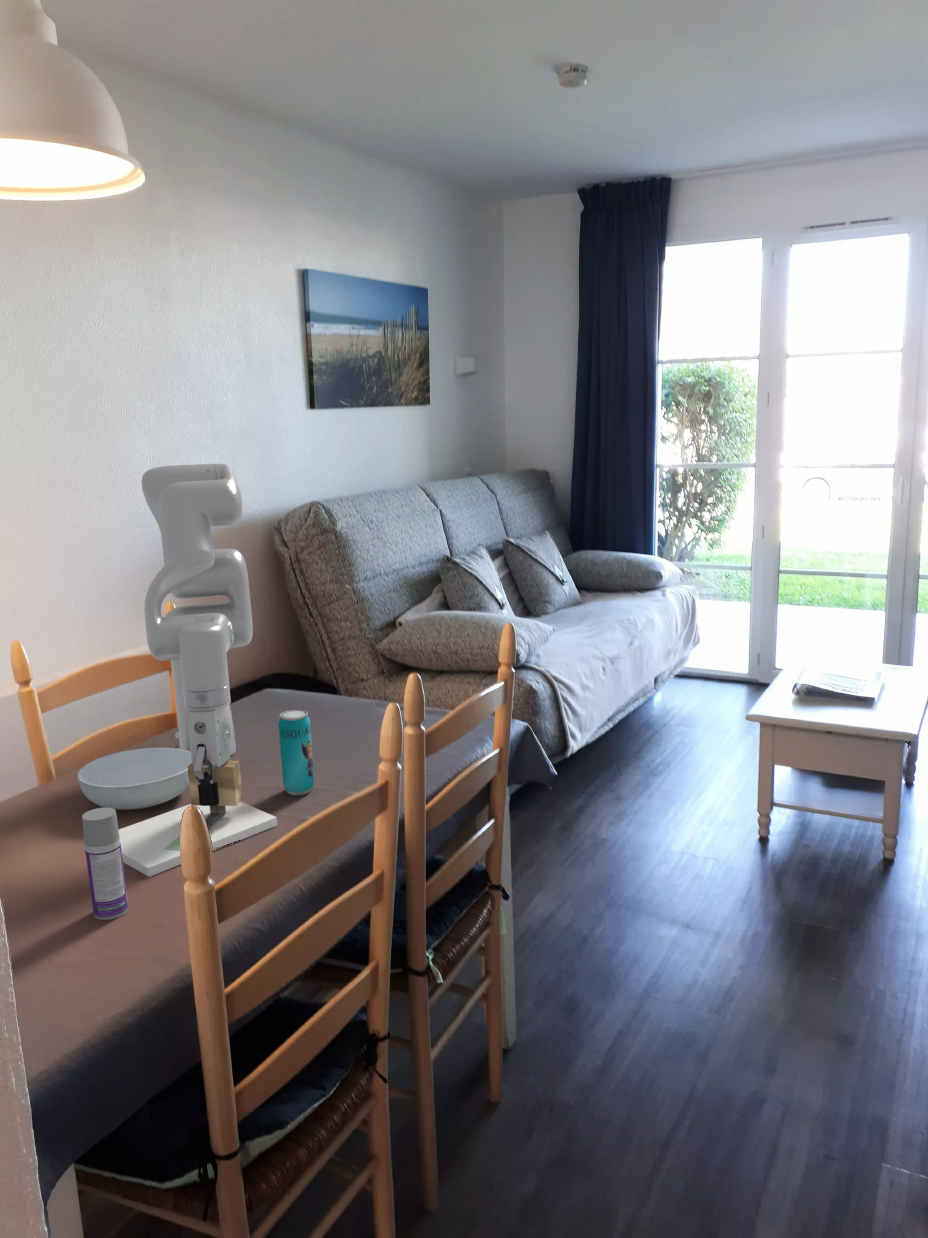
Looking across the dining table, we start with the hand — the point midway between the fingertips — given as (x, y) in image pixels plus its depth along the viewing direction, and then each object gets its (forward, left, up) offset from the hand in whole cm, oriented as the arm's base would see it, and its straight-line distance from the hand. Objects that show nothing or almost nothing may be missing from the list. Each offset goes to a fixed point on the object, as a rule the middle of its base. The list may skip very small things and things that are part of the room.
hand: (216, 795), depth 165 cm
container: (+14, -27, -5) cm, 31 cm away
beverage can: (-1, +18, -5) cm, 19 cm away
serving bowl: (-21, -3, -6) cm, 22 cm away
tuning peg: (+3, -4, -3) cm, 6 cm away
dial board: (0, -6, -5) cm, 8 cm away
